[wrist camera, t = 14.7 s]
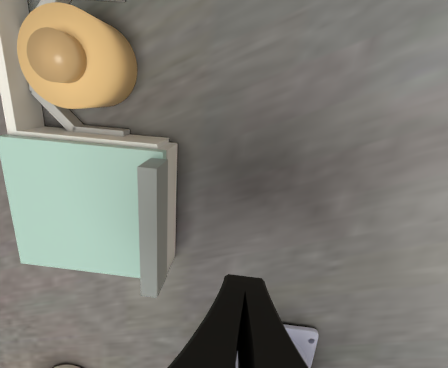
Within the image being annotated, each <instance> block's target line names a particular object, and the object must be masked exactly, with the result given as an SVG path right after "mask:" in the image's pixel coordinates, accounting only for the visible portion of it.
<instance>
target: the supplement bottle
mask: <svg viewBox="0 0 448 368" xmlns="http://www.w3.org/2000/svg"><path fill="white" fill-rule="evenodd" d="M54 368H80V367H77V366H74V365H60V366H56V367H54Z"/></svg>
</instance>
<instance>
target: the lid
mask: <svg viewBox="0 0 448 368" xmlns="http://www.w3.org/2000/svg"><path fill="white" fill-rule="evenodd" d="M0 158H1V163H2V168H3V174H4V179H5V184H6V189H7V194H8V199H9V204H10V209H11V214H12V220H13V225H14V230H15V235H16V240H17V245H18V250H19V255H20V260H21V263H24V264H32V265H40V266H48V267H56V268H64V269H72V270H80V271H88V272H96V273H104V274H112V275H120V276H128V277H136V278H140V285H141V296H146V297H154V298H157V297H158V295H159V293H160V290H161V288H162V286H163V284H164V282H165V279H166V277H167V210H168V159H166V150H161V149H150V148H140V147H129V146H119V145H108V144H98V143H87V142H77V141H67V140H56V139H46V138H35V137H25V136H14V135H0Z"/></svg>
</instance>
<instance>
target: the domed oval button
mask: <svg viewBox="0 0 448 368" xmlns="http://www.w3.org/2000/svg"><path fill="white" fill-rule="evenodd" d="M17 55H18V60H19V64H20V67H21V70H22V72H23V74H24V76H25V78H26V80H27V81H28V83H29V84H30V86H31V87H32V88H33V89H34V91H35V92H36V93H37V94H38V95H40V96H41V97H42V98H43V99H45V100H46V101H48V102H50V103H51V104H53V105H56V106H59V107H62V108H67V109H80V108H97V107H110V106H114V105H117V104H119V103H121V102H122V101H124V100H125V99H126V98H127V97H128V96H129V95H130V93H131V92H132V90H133V88H134V86H135V83H136V79H137V62H136V57H135V54H134V51H133V49H132V47H131V45H130V44H129V42H128V41H127V39H126V38H125V37H124V36H123V35H122V34H121V33H120V32H119V31H118V30H117V29H115V28H114V27H112V26H110V25H108V24H107V23H105V22H103V21H101V20H99V19H97V18H96V17H94V16H92V15H90V14H88V13H86V12H85V11H83V10H81V9H79V8H77V7H75V6H73V5H69V4H66V3H60V2H52V3H47V4H44V5H41V6H39V7H37V8H35V9H34V10H33V11H31V12H30V13H29V14H28V16H27V17H26V18H25V20H24V21H23V23H22V25H21V27H20V30H19V34H18V39H17Z"/></svg>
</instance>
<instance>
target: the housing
mask: <svg viewBox="0 0 448 368" xmlns="http://www.w3.org/2000/svg"><path fill="white" fill-rule="evenodd" d="M70 1H71V0H41V1H40V2H39V4H38V5H37V7H39V6H41V5H44V4H47V3H52V2H60V3H66V4H69V3H70ZM98 1H114V2H125V0H98ZM37 7H36V8H37ZM28 14H29V9H28V1H27V0H0V93H1V98H2V104H3V109H4V115H5V120H6V126H7V132H8V135H14V136H25V137H35V138H46V139H56V140H67V141H77V142H87V143H98V144H108V145H119V146H129V147H140V148H150V149H161V150H166V159H168V210H167V273H168V271H169V269H170V267H171V265H172V263H173V260H174V258H175V237H176V189H177V143H171V142H169V138H165V137H154V136H143V135H132V134H130V129H123V128H112V127H102V126H91V125H83V124H82V123H81V121H80V120H79V119H78V118H77V117H76V116H75V115H74V114H73V113H72V112H71V111H70V110H69V109H67V108H62V107H59V106H56V105H53V104H51V103H50V102H48V101H46V100H45V99H43V98H42V97H41V96H40V95H38V94H37V93H36V92H35V91H34V89H33V88H32V87H31V86H30V84H29V83H28V81H27V80H26V78H25V76H24V74H23V72H22V70H21V67H20V64H19V60H18V55H17V39H18V34H19V30H20V27H21V25H22V23H23V21H24V20H25V18H26V17H27V16H28ZM42 105H43V106H44V107H45V108H46V109H47V110H48V111H49V112H50V113H51V114H52V115H53V116H54V117H55V118H56V119H57V120H58V121H59V123H60V124H61V125H62V126H63V127H64V128H57V127H46V126H44V119H43V111H42Z"/></svg>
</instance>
